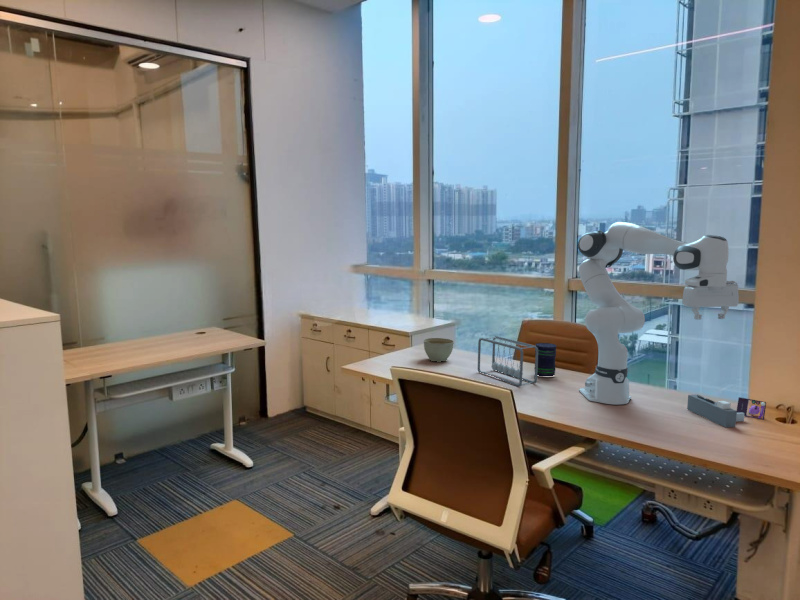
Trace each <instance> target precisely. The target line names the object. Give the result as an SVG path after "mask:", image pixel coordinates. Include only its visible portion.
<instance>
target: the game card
mask: <svg viewBox="0 0 800 600" xmlns="http://www.w3.org/2000/svg"><path fill="white" fill-rule="evenodd" d="M749 401H751V404H753V405H750V406H751V407H748V406H749ZM766 407H767V402H766V401H761V400H755V399H751V398H744V397H738V399H737V405H736V411H737V413H741V412H743V413H744V417H747V418H752V419H758V420H762V421H763V420H765V414H766ZM748 408H749V409H748ZM747 414H749V415H747ZM758 414H759V415H758ZM751 415H758V417H756V416H751Z"/></svg>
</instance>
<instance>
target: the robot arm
mask: <svg viewBox="0 0 800 600" xmlns="http://www.w3.org/2000/svg"><path fill="white" fill-rule="evenodd" d="M577 249H578V250H579V253H580V254H582V255H583V256H585V257H586V259H585V260H583V261H582V262H581V263H580V264H579V267H578V274H579V278H580V280H581V283H582V286H583V288H584V290H585V292H586V295H587V297H588V299H589V301H590V302H591V303H592V304H593V305H594V306H597V308H593V309H590V310H588V312H587V313H586V315H585V319H584V321H585V322H584V324H585V326H586V329H587V330H588V331H589V332H590V333H591V334H592V335H593V336H594V338H595V340H596V342H597V348H598V354H597V355H598V360H597V364H595V365H594V368H595V370H594V373H593V374H591V375H590V376H589V377H587V378H586V379H585V382H584V387H581V388H579V390H578V391H579V393H581V394H582V395H583V396H584V398H586V399H587V400H588V401H590V402H595V403H596V402H597V403H601V404H606V405H615V406H616V405H626V404H628V403H629V402H630V401H631V400H632V396H631V395H630V380H629V379H628V378H627V377H628V373H629V371H628V370H629V368H628V352H629V351H628V348H627V347H626V346H625V345H624V344H623V343H621V341H620V339H619V334H629V333H630V334H631V333H634V332H637V331H640V330H642V328H644V325H645V322H646V319H645V313H644V312H643V310H642V309H641V308H639V307H637V306H634V305H633V304H631V303H630V302H628V300H626V299H625V298H624V296H622V295H621V294H620V293H619V291H618V290H617V288H616V287H615V285H614V283H613V282H612V279H611V277H610V276H609V274H608V273H609V272H607V270H606V268H610V267H612V266H613V265H614V264H616V263H617V262H618V261H619V260H620V259H621V258H622V255H623V251H626V252H630V253H633V254H637V255H638V254H639V255H669V256H671V257H673V263H674V265H675V267H676V268H678V269H679V270H683V271H698V274H697V275H696V276H693V277H690V278H687V279H685V281H684V284H685V287H684V288H683V293H682V300H681V301H682V305H683V306H684V307H687V308H691V310H692V312H693V314H694V315H693V316H694V320H697V321H699V320H702V314H700V312H699V311H700V308H719V307H720V309H721V310H720V313H718V314H717V319H718V320H726V314H727V313H728V311H729V310H730V309H729V307H731V308H733V307H734V308H735V307H738V306H739V304H740V302H739V301H740V297H739V295H740V294H739V285H738V283H737V282H736V281H735V280H728V271H727V264H728V262H729V241H728V239H726V237H724V236H718V235H713V234H712V235H711V234H707V235H703V236H702V237H701V238H699V239H698V240H695V241H692V242H690V243H689V242H686V241H682V240H678V239H674V238H671V237H668V236H666V235H664V234H662V233H658V232H657V231H654V230H651V229H649V228H647V227H644V226H641V225H638V224H634V223H630V222H625V221H623V222H622V221H617V222H614V223H612V224H611V225H609V227H608V229H607V231H605V232H604V231H603V230H595V231H591V232H586V233H584V234H582V235H581V237H580V238H579V239H578V242H577ZM630 399H631V400H630Z"/></svg>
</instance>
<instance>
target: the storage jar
mask: <svg viewBox="0 0 800 600" xmlns="http://www.w3.org/2000/svg"><path fill="white" fill-rule="evenodd" d="M535 346H536V347H537V348H538V371H537V375H539V376H553V375H555V374H556V358H557V344H554V343H550V342H549V343H548V342H538V343H535ZM534 352H535V354H534V357H536V350H535V349H534ZM533 368H534V369H533V370H535V367H533ZM555 376H556V375H555Z"/></svg>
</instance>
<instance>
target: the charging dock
mask: <svg viewBox="0 0 800 600" xmlns="http://www.w3.org/2000/svg"><path fill="white" fill-rule="evenodd" d="M686 409H688V410H687V411H689V410H690V412H691V411H692V412H691V413H693V412H694V414H695V413H696V414H695V415H698V414H699V415H698V416H700V415H701V416H700V417H702V416H703V417H702V418H704V417H705V418H704V419H706V418H707V420H708V419H709V421H710V420H711V422H712V423H715V424H717V425H719V426H722V427H723V428H736V423H738V422H744V421H745V416H744V413H743V412H741V413H737V409H734V408H731V403H730V402H728V401H726V400H718V401H715V400H712V399H710V398H706V397H704V396H702V395H699V394H688V395H687V408H686Z"/></svg>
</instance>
